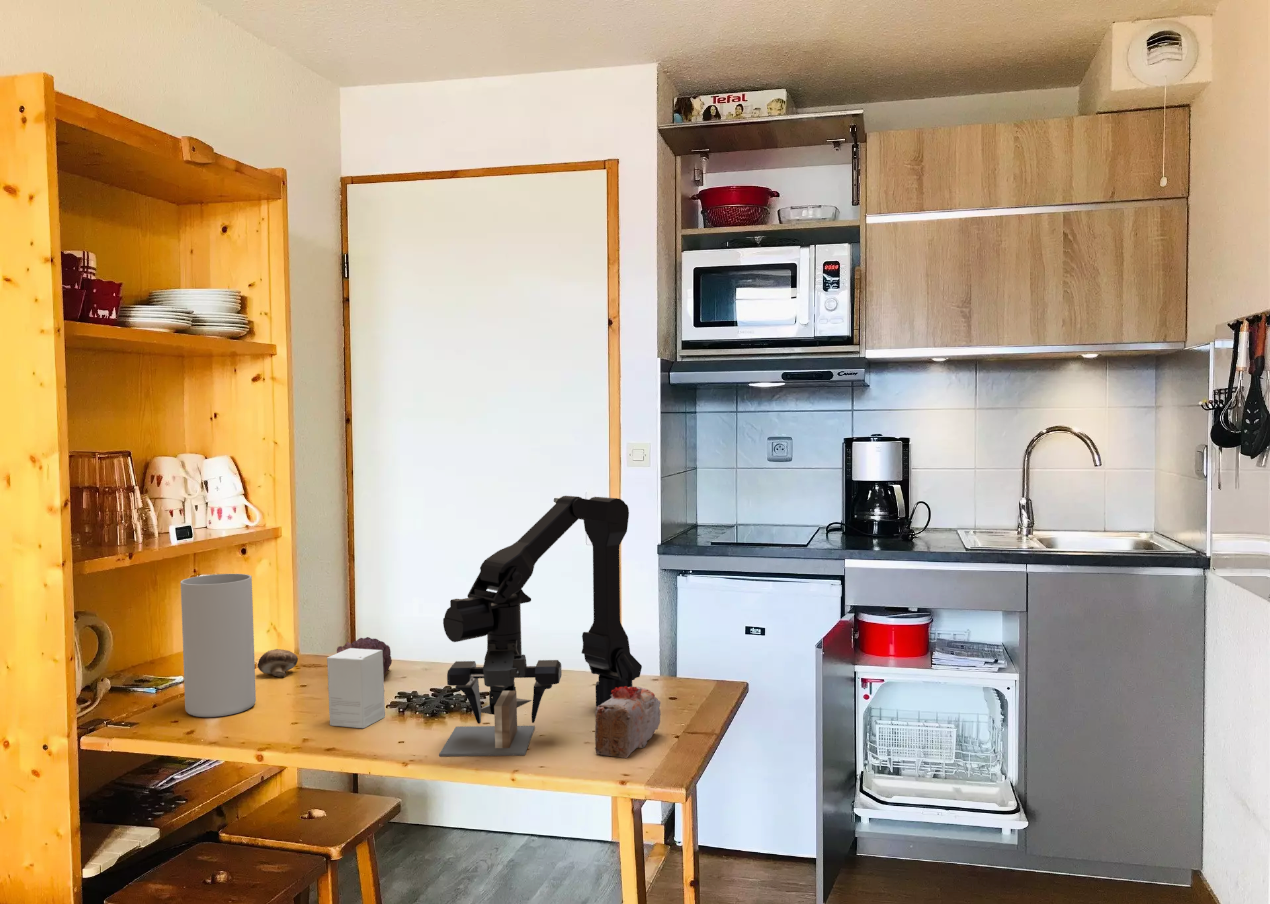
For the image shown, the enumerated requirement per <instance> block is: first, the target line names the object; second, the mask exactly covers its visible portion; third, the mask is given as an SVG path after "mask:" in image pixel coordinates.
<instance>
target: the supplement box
mask: <svg viewBox="0 0 1270 904" xmlns="http://www.w3.org/2000/svg"><path fill="white" fill-rule="evenodd" d="M326 664H327V681H328V682H327V685H328V687H327V689H328V690H327V691H328V710H329V711H328V712H329V714H328V715H329V726H331V727H332V726H333V727H343V728H344V727H345V728H353V729H354V728H355V729H365V728H367V727H369V726H371V725H373V724H374V723H377V722H378V721H380V720H383V719H384V718H385V717H386V708H385V705H386V704H385V702H386V701H385V676H384V675H385V674H384V675H383V651H382V650H372V649H356V648H349V649H346V650H344V651H341V652H339V653H337V652H336V653H335V654H332V655H330V656H328V657H326Z"/></svg>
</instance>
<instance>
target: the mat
mask: <svg viewBox="0 0 1270 904" xmlns="http://www.w3.org/2000/svg"><path fill="white" fill-rule="evenodd" d="M535 728H536V725H517V732H516V734H515V737H514V739H513V741H512V744H511V746H510V748H495V725H486V726H485V725H480V726H479V725H472V726H471V725H469V726H466V725H465V726H464V725H463V726H455V728H454V729H453V731H452V732H451V734H450V736H449V737H448V738H447V740H446V741H445V744H444V745H443V747H442V749H441V750H440V752H439V754H438V756H439V757H491V756H494V757H495V756H496V757H497V756H499V757H500V756H505V757H506V756H508V757H509V756H525V755H526V753H527V751H528V748H529V746H530V745H529V744H530V742H531V739H532V738H533V737H532V736H533V734H534V731H535Z"/></svg>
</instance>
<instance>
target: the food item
mask: <svg viewBox="0 0 1270 904" xmlns="http://www.w3.org/2000/svg"><path fill="white" fill-rule="evenodd" d="M611 693H612V695H610V696H611V697H612V698H610V699H609V700H607V701H606V702H604V703H602V704H601V705H599V706H598V707H596V706H595V713H594V716H595V724H594V725H595V727H594V728H595V729H594V731H595V732H594V743H595V744H594V745H595V747H594V750H595V752H596V754H597V755H600V756H602V757H603V756H606V757H607V756H608V757H615V758H617V757H618V758H621V759H627V758H628V757H630V755H631V754H632V753H633V752H634V751H635V750H636V749H644V748H646V745H647V744H648V741H649V740H651V738H652V737H653V735H654V734H655V732H656V730H658V729H659V727H660V724H661V716H662V715H661V708H660V706H661V701H660V700H658V698H657V697H656V696H655V695H656V694H655V693H654V692H653V691H651V690H650V689H647V688H644V687H641V686H633V687H626V686H625V687H619V688H617V687H615V689H614V690H612V691H611Z"/></svg>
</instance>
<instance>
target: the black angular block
mask: <svg viewBox="0 0 1270 904" xmlns="http://www.w3.org/2000/svg"><path fill="white" fill-rule="evenodd" d="M502 691H516V692H517V689H516V685H515V681H514V684H513V685H511V686H508V687H505V686H493V687H489V691H488V693H489V695H488V696H489V699H488V700H489V704H487V705H485V706H483V707H481V714H487V715H494V706H495V704H496V702H497V700H498V698H499V697H500V695H501V693H502ZM529 702H533V699H532V700H531V699H525V698H517V708H519V707H521V706H524V705H525V704H528V703H529Z"/></svg>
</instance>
